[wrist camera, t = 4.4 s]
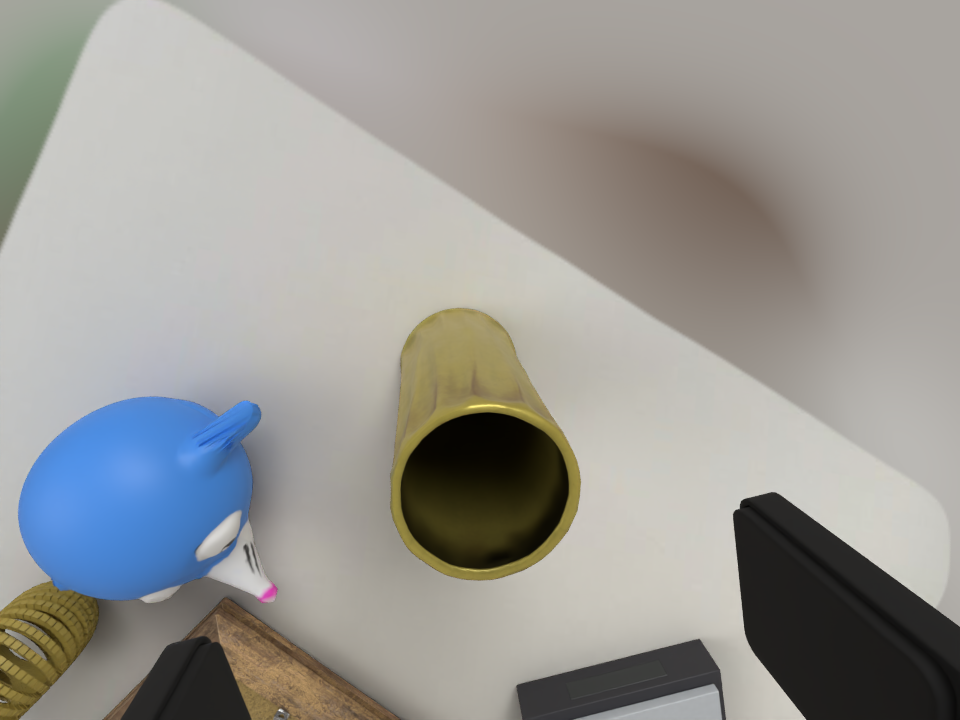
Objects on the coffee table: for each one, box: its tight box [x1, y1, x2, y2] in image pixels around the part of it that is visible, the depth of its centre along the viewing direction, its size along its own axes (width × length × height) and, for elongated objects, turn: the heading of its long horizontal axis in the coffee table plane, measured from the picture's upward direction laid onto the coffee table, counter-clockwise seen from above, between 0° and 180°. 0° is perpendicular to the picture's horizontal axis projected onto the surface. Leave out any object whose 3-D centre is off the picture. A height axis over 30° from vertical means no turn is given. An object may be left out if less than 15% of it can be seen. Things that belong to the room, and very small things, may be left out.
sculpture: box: [0, 581, 99, 720], centre depth 25 cm, size 8×4×8 cm, turn 130°
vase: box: [390, 308, 581, 580], centre depth 21 cm, size 6×6×14 cm
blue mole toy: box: [18, 397, 277, 603], centre depth 24 cm, size 12×12×8 cm
